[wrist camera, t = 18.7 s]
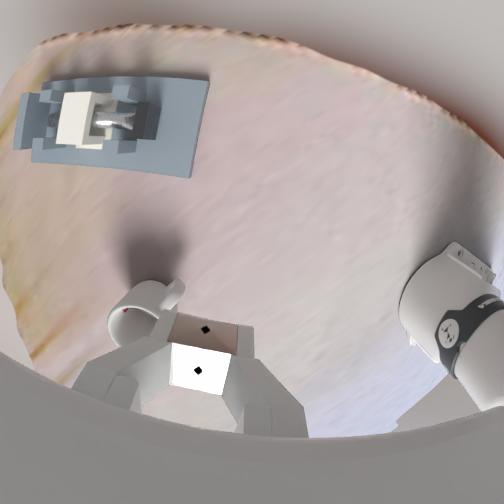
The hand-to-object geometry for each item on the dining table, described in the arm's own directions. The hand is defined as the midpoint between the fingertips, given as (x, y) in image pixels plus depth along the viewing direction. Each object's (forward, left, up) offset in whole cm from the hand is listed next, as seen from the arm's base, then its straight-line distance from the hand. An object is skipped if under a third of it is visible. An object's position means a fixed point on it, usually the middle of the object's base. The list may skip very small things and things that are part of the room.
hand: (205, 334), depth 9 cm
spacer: (+17, -7, -23) cm, 29 cm away
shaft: (+16, -7, -22) cm, 28 cm away
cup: (+7, +14, -24) cm, 29 cm away
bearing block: (+17, -7, -24) cm, 30 cm away
